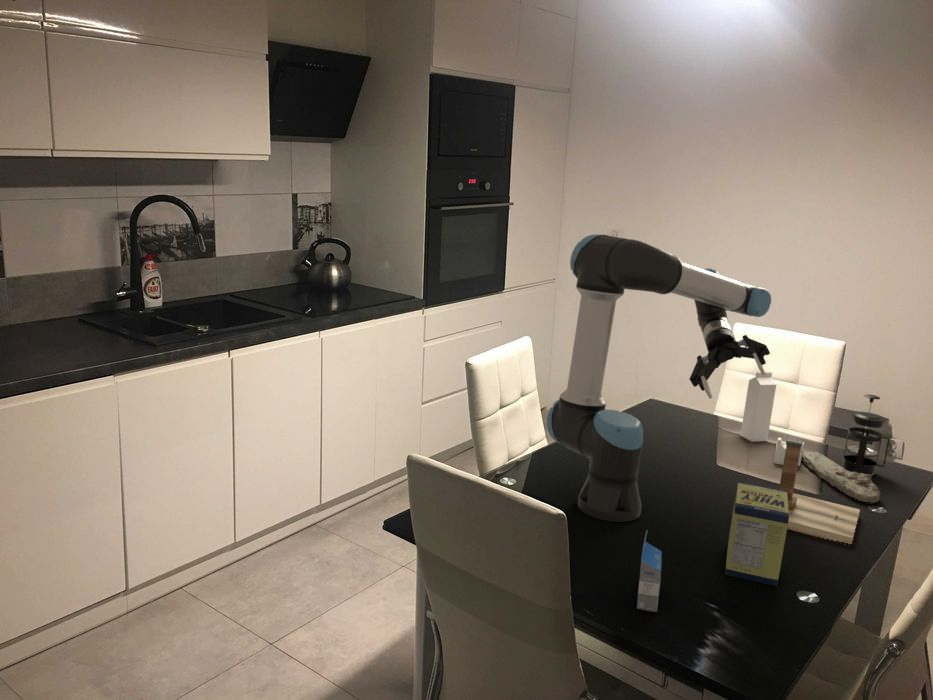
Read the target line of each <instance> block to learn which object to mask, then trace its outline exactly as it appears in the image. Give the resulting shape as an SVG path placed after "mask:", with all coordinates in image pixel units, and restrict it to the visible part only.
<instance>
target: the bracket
mask: <svg viewBox="0 0 933 700" xmlns="http://www.w3.org/2000/svg"><path fill="white" fill-rule="evenodd" d="M804 444H805V442H804V441H803V444H802V446H801V450H800V456H799V462H798V467H800V466H801V462H802V461H801V457H802V453H803V452H804V451H803V450H804ZM785 451H786V441H783V440H782V437H777V440H776V446H775V451H774V460H773V464H777V465H782V466H783V463H784V457H785Z"/></svg>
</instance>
